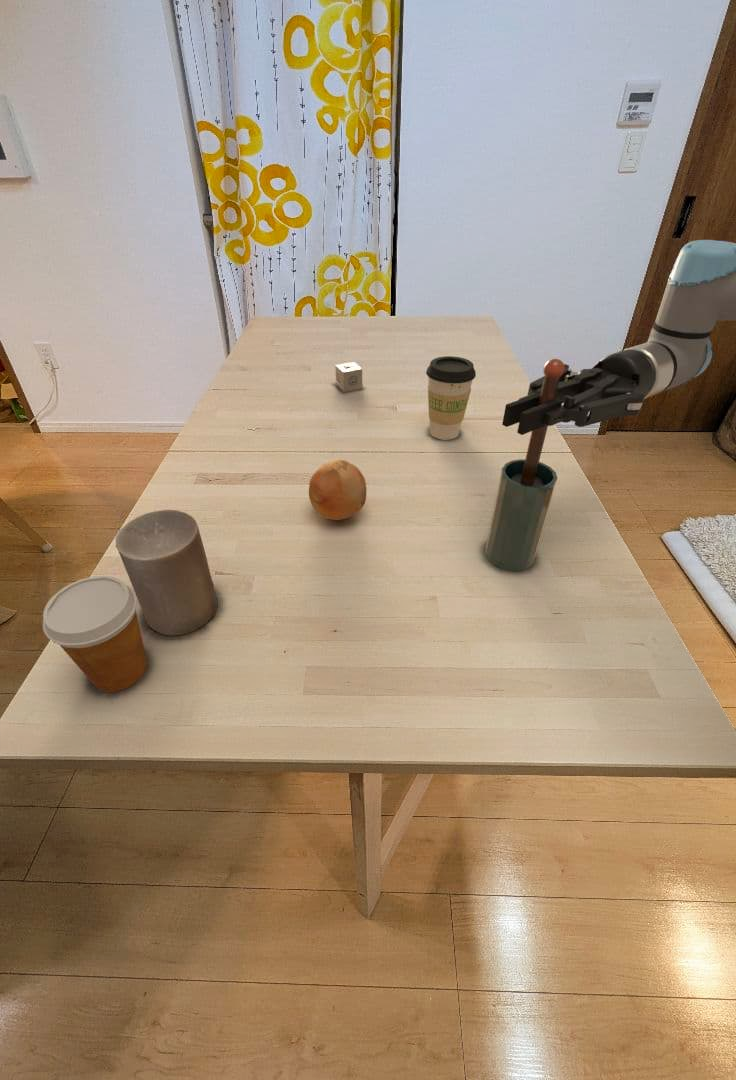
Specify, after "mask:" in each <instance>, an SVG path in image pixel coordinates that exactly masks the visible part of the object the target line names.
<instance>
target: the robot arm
mask: <svg viewBox="0 0 736 1080" xmlns="http://www.w3.org/2000/svg"><path fill="white" fill-rule="evenodd" d="M717 321H725V322H726V321H731V322H732V321H733V322H735V321H736V242H732V241H725V240H714V239H697V240H691V241H689V242H688V243H686V244H685V245H683V247H681V249H680V251H679V253H678V256H677V257H676V259H675V261H674V264H673V266H672V269H671V271H670V274H669V276H668V279H667V283H666V286H665V289H664V293H663V296H662V299H661V302H660V306H659V308H658V312H657V314H656V317H655V320H654V322H653V325H652V328H651V329H650V333H649V335H648V336H649V337H648V339H647V341H645V342H644V343H640V344H638V345H635V346H631V347H627V348H624V349H622V350H620V351H617V352H613V353H611V354H608V355H606V356H604V357H603V358H601V359H600V360H599V361H598V362H597V363H596V364H595V365H594V366H593V367H592V368H584V369H581V370H579V371H578V372H577V371H573V370H572V368H570V365H568V364H566V363H564V366H565V370H564V373H563V375H562V376H561V377H560V380H559V384H558V388H557V392H556V396H555V400H553V401H550V402H548V403H545V404H542V405H539V406H538V402H539V398H540V394H541V389H542V385H543V381H544V376H542V377H540V378H537V379H535V380H534V381H531V382H530V383H529V386H528V391H527V395H525V396H522V397H519V398H518V399H517V400H514V401H512V402H509V403H506V404H505V408H504V413H503V419H502V426H504V427H505V428H508V427H510V426H514V425H516V424H518V426H517V431H516V433H517V434H519V435H520V436H523V435H526V434H528V433H532V431H533V430H536V429H539V428H541V427H544V426H546V425H547V426H548V427H552V426H555V425H557V424H561V423H565V424H566V423H570V422H574V426H576V427H578V428H582V427H583V428H584V427H587V426H590V425H594V424H598V423H601V422H605V421H609V420H613V419H616V418H620V417H625V416H626V417H627V416H629V417H630V416H638V415H639V413H640V411H641V408H642V406H643V403H644V400H645V399H648V398H651V397H653V396H655V395H657V394H660V393H662V392H665V391H668V390H671V389H673V388H675V387H679V386H682V385H685V384H687V383H689V382H690V381H692V379H695V378H696V377H698V376H700V375H701V374H702V373H704V371H706V369H707V368H708V367H709V365H710V363H711V361H712V357H713V347H712V346H713V345H712V342H711V340H710V337H711V335H712V332H713V329H714V328H715V326H716V323H717ZM562 404H563V405H562Z"/></svg>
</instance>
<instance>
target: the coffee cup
mask: <svg viewBox="0 0 736 1080" xmlns="http://www.w3.org/2000/svg"><path fill="white" fill-rule="evenodd" d="M425 374H426V376H427V380H428V382H427V383H428V384H427V402H428V403H427V404H428V419H429V435H430V436H432V437H433V438H435V439H438V440H444V441H448V440H449V441H450V440H454V439H456V438H458V436H459V434H460V432H461V431H460V430H461V428H462V427H461V426H462V422H463V421H464V419H465V414H466V411H467V407H468V402H469V399H470V396H471V392H472V384H473V380H474V379H475V378H476V376H477V375H476V370H475V365H474V363H473V362H472V361H471V360H469V359H467V358H464V357H459V356H451V355H449V356H448V355H447V356H438V357H436V358H435V357H434V358H433V359H432V360H431V361H430V362H429V365H428V366H427V368H426V371H425Z"/></svg>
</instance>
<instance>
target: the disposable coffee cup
mask: <svg viewBox="0 0 736 1080" xmlns="http://www.w3.org/2000/svg"><path fill="white" fill-rule="evenodd" d="M137 605H138V599H137V597H136V594H135V591H134V589H133V588H131V587H130V586H129V585H128V584H126V583H125V582H124V581H122V580H121V579H120V578H117V577H115V576H109V575H95V576H89V577H85V578H82V579H78V580H76V581H73V582H71V583H69V584H67V585H66V586H63V587H62V588H61V589H60V590H59V591H58V592H56V593H55V594H54V595H52V596H51V598H50V599H49V600H48V601H47V603H46V605H45V607H44V609H43V614H42V619H43V620H42V630H43V633H44V635H45V636H46V637H47V638H48V639H49V640H50V641H51V642H53V643H54V644H57V645H58V646H59V647H60V648H61V649H62V650H63V651H64V652H65V653H66V655H68V657H69V658H70V659H71V660H72V661H73V662H74V664H75V665H76V666H77V667H78V668H79V669H80V670H81V671H82V672H83V674H84V675H85V676H86V678H88V680H89V681H90V682H91V683H92V684H93V686H94V687H96V689H98V690H99V691H101V692H105V693H116V692H121V691H123V690H126V689H128V688H130V687H132V686H133V685H134V684H136V683H137V682H139V680H141V678H142V677H143V676H144V674H145V672H146V671H147V666H148V660H147V657H146V656H147V655H146V652H145V647H144V643H143V638H142V633H141V628H140V624H139V623H140V622H139V619H138V614H137V607H138V606H137Z"/></svg>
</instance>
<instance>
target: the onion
mask: <svg viewBox="0 0 736 1080" xmlns="http://www.w3.org/2000/svg"><path fill="white" fill-rule="evenodd" d="M308 498H309V499H308V500H309V502H310V504H311V506H312V508H313V509H314V510H315V511H316V513H317V514H319V515H320V516H321V517H323V518H325V519H328V520H332V521H334V520H335V521H339V520H345V519H348V518H351V517H353V516H354V515H356V514H357V513H359V512H360V511H361V510H362V508H363V507H364V505H365V504H366V500H367V482H366V477H364V474H363V473H362V471H361V470H360V469H359V468H358V467H357V466H356V465H355V464H353V463H351V462H350V461H347V460H344V459H334V460H331V461H328V462H325V463H324V464H322V465H321V466H319V468H317V470H315V472H314V473H313V474H312V476H311V477H310V479H309V485H308Z"/></svg>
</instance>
